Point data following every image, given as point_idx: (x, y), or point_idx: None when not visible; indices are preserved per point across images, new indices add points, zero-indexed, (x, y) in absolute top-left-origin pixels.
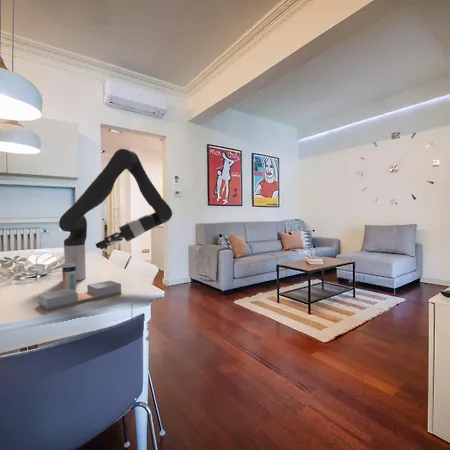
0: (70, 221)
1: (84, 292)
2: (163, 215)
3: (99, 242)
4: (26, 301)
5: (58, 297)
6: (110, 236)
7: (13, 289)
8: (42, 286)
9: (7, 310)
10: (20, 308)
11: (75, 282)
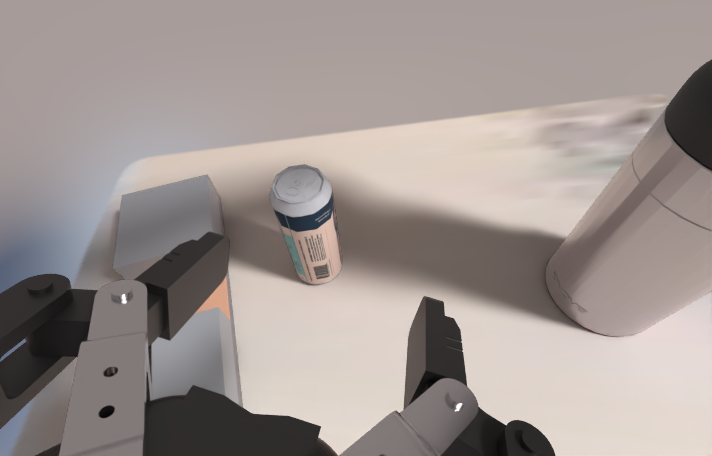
0: None
1: (227, 308)
2: None
3: (185, 256)
4: None
5: (119, 219)
6: None
7: (470, 130)
8: (480, 187)
9: (233, 150)
10: (228, 168)
11: (304, 263)
